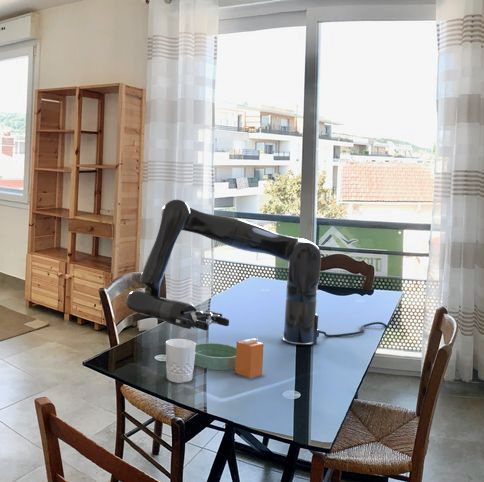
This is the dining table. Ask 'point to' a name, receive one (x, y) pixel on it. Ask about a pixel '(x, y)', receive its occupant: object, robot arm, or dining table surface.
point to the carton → (249, 357)
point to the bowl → (215, 356)
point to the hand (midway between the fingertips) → (218, 324)
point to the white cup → (180, 360)
